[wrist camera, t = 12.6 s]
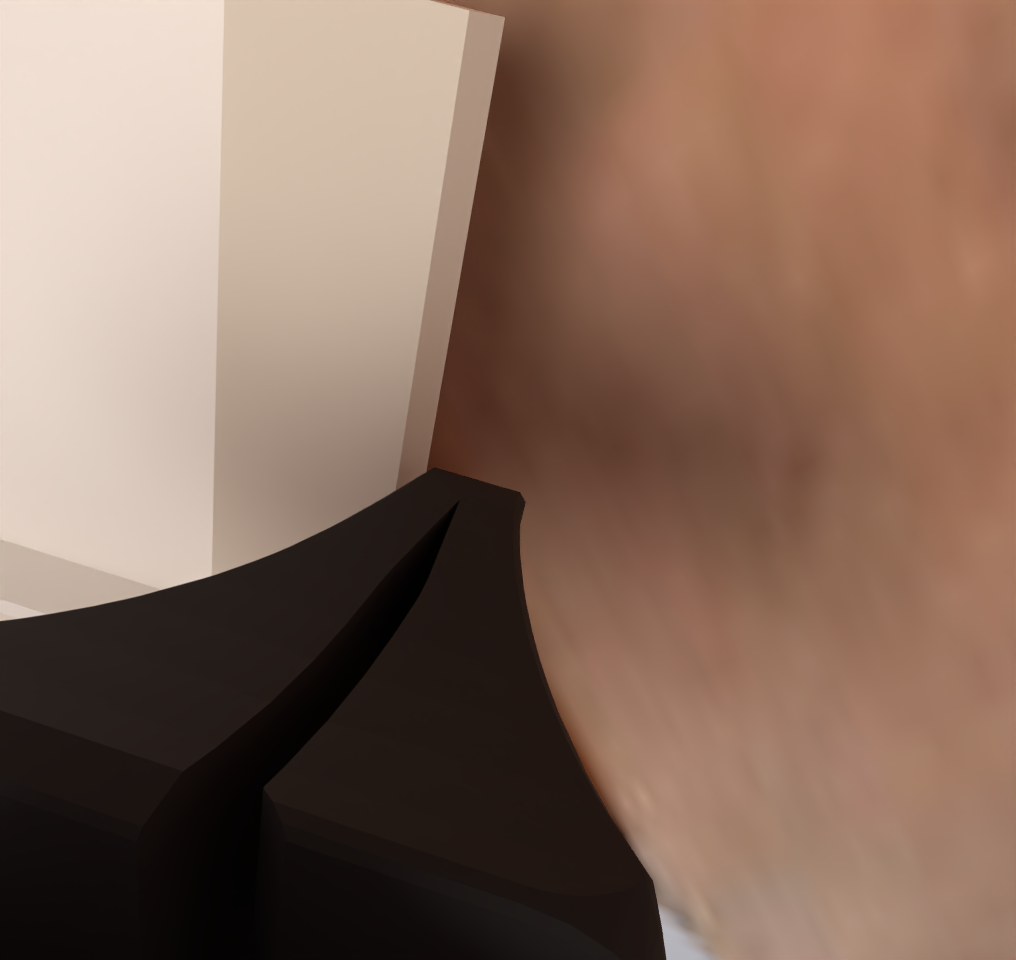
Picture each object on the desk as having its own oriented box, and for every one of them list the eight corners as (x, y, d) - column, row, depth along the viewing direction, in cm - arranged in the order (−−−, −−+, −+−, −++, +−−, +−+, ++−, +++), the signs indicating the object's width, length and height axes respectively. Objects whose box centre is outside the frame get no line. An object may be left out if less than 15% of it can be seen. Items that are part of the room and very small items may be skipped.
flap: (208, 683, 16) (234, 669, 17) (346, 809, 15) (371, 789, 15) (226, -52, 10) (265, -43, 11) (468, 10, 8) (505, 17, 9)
